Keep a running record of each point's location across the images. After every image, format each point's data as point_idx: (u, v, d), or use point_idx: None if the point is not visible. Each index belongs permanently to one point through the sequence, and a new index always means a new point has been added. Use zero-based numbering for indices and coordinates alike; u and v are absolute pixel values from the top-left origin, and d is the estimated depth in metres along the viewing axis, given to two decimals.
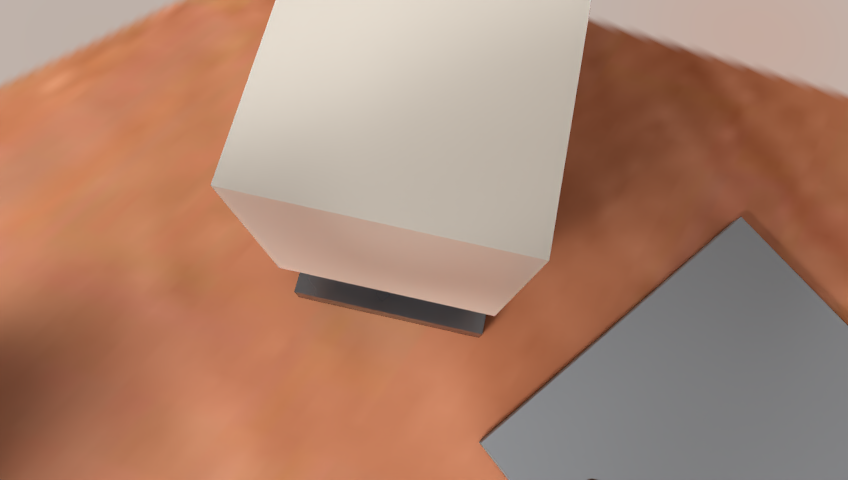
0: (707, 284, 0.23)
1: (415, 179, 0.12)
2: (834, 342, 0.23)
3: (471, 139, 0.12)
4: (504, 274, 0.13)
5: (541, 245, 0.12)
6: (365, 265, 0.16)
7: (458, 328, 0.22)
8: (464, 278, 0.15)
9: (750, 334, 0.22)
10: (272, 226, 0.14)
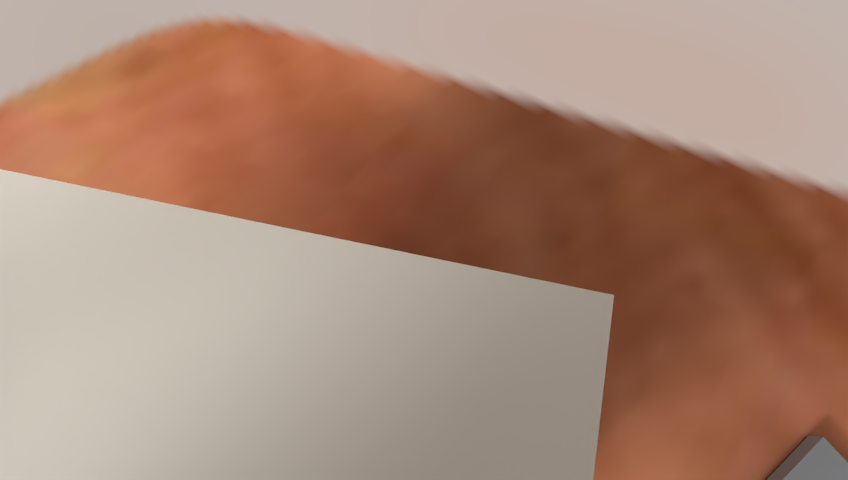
0: None
1: None
2: None
3: None
4: None
5: None
6: None
7: None
8: None
9: None
10: None
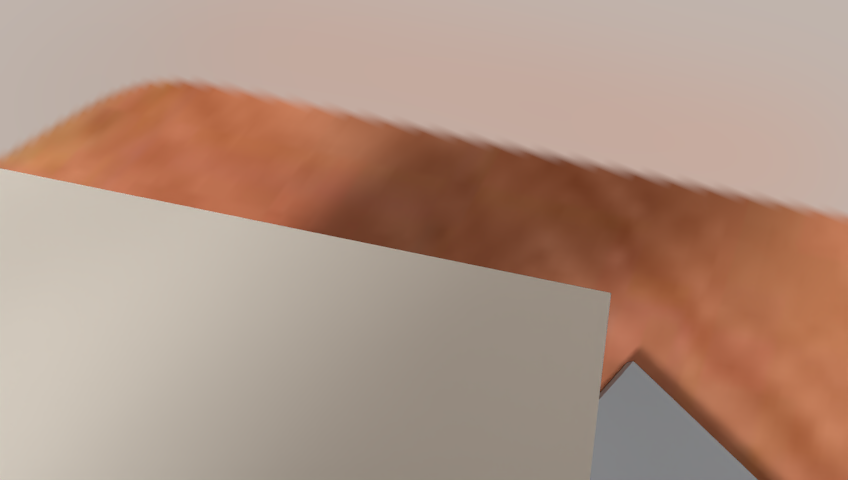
0: (599, 447, 0.21)
1: None
2: None
3: None
4: None
5: None
6: None
7: None
8: None
9: None
10: None
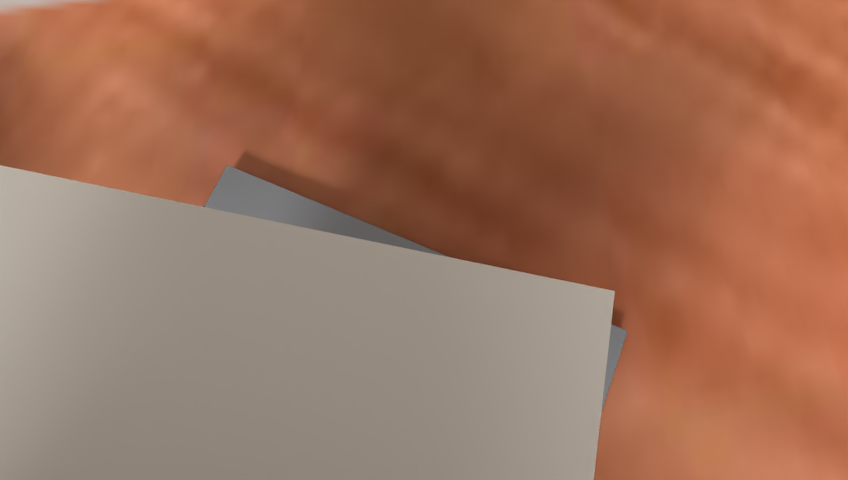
0: None
1: None
2: None
3: None
4: None
5: None
6: None
7: None
8: None
9: None
10: None
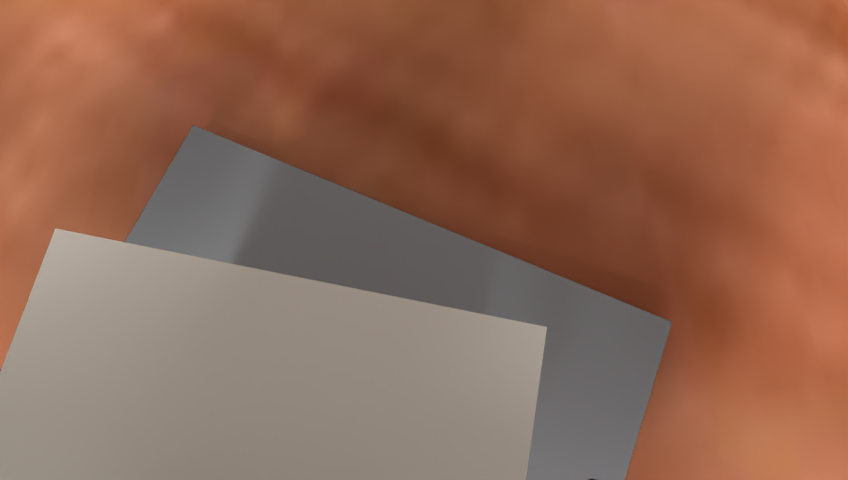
0: (171, 241, 0.15)
1: None
2: (369, 233, 0.16)
3: None
4: None
5: None
6: None
7: None
8: None
9: None
10: None
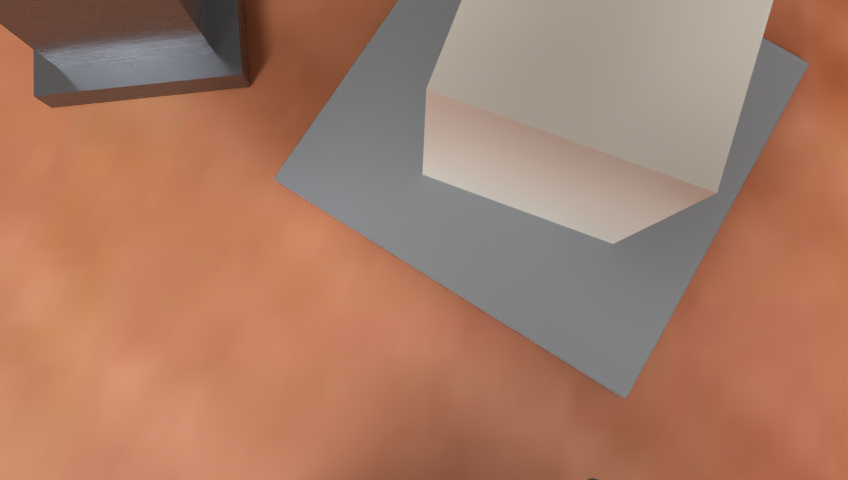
0: None
1: (606, 105, 0.13)
2: None
3: (659, 75, 0.14)
4: (659, 202, 0.15)
5: (712, 179, 0.13)
6: (518, 180, 0.17)
7: (216, 76, 0.20)
8: (613, 202, 0.16)
9: None
10: (454, 133, 0.16)
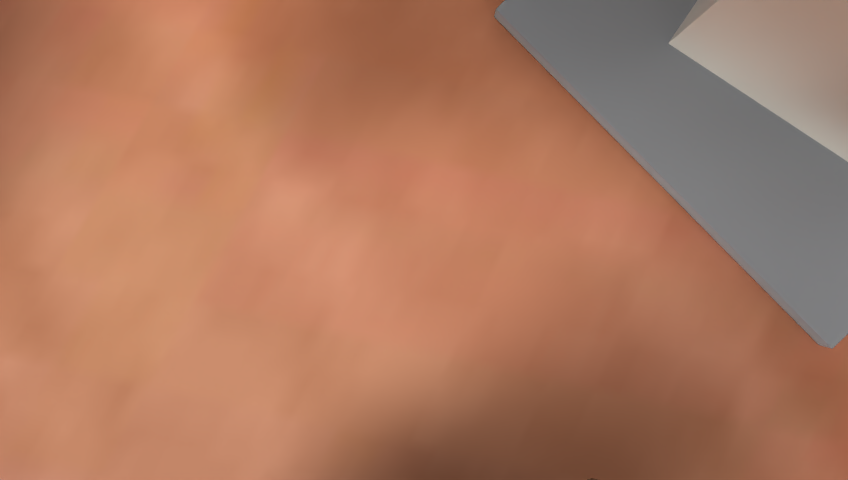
0: None
1: None
2: None
3: None
4: None
5: None
6: (820, 70, 0.14)
7: None
8: None
9: None
10: None
